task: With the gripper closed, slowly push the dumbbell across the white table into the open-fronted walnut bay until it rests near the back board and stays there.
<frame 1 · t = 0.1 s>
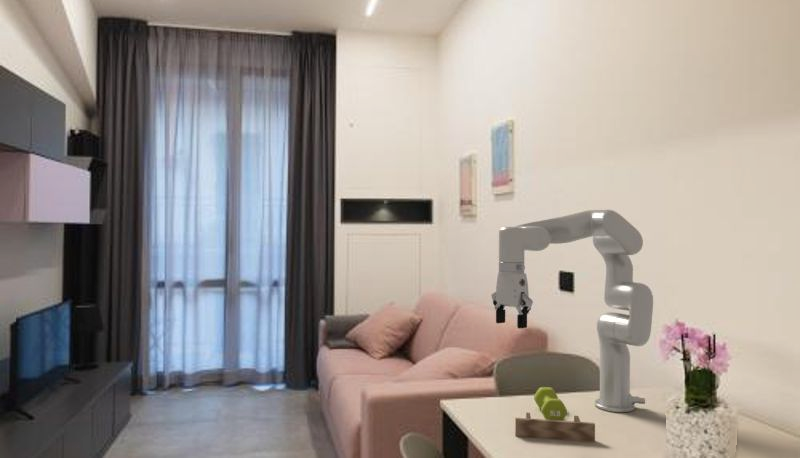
hand: (511, 325, 171), 31 cm above the table, tool pointing down, fingers open, 9 cm apart
walnut bay: (553, 431, 170), on the table
dumbbell: (549, 416, 185), on the table
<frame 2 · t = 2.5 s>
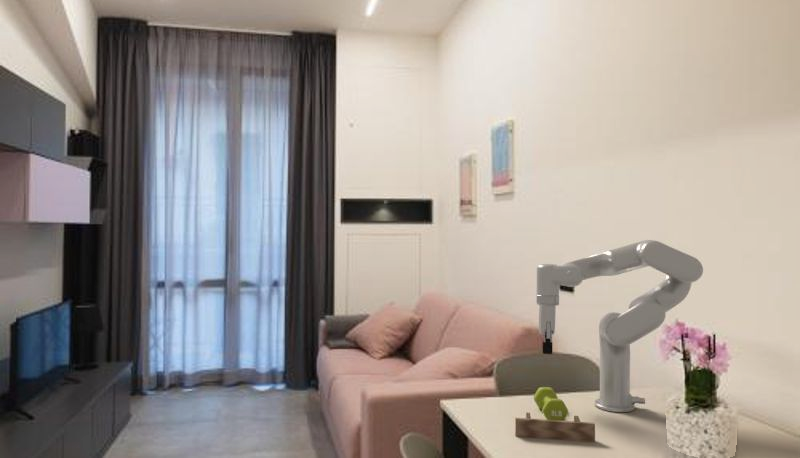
hand: (547, 353, 198), 17 cm above the table, tool pointing down, fingers closed
nothing on the table moved.
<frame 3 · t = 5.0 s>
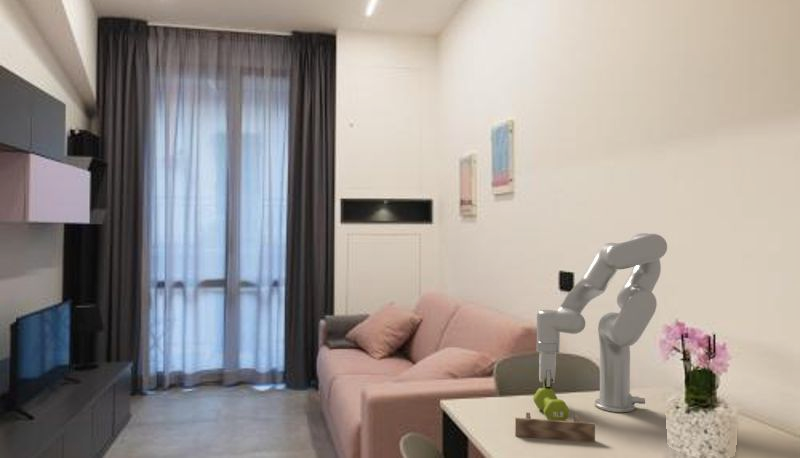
hand: (547, 400, 194), 2 cm above the table, tool pointing down, fingers closed
dumbbell: (550, 417, 183), on the table, touching gripper
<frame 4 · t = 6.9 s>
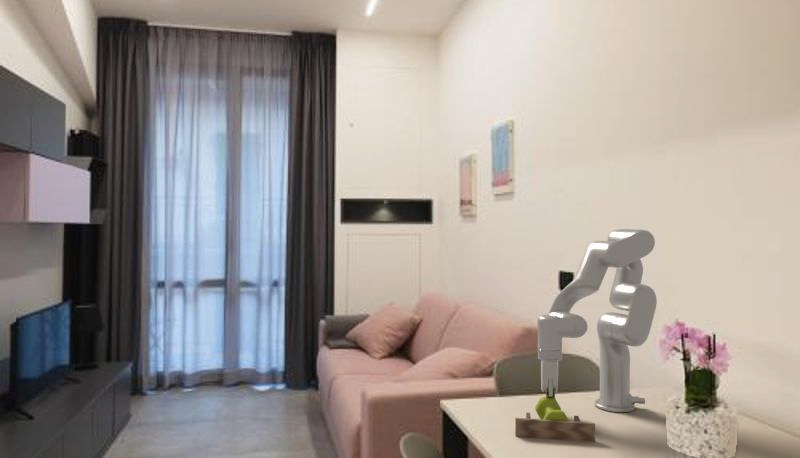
hand: (550, 411, 184), 2 cm above the table, tool pointing down, fingers closed
dumbbell: (551, 428, 173), on the table, touching gripper, walnut bay
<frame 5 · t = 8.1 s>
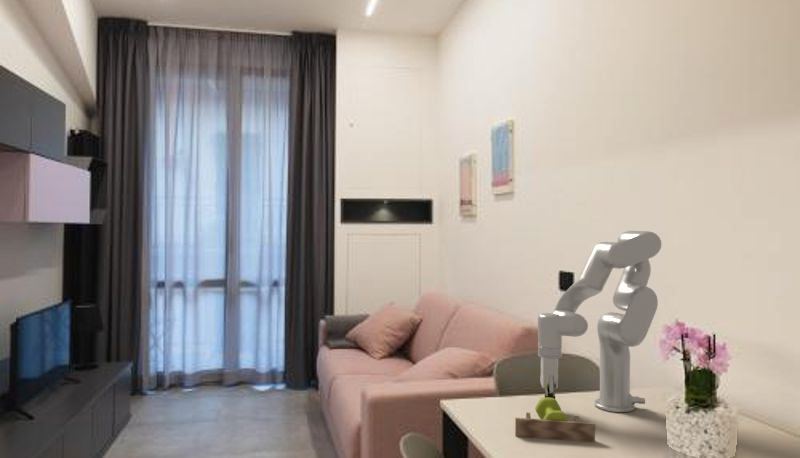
hand: (550, 407, 189), 1 cm above the table, tool pointing down, fingers closed
dumbbell: (551, 428, 173), on the table
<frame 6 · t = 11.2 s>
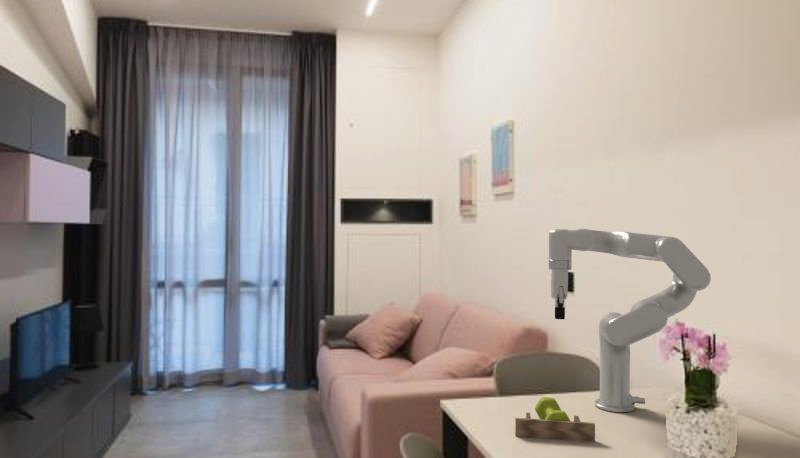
hand: (559, 318, 197), 29 cm above the table, tool pointing down, fingers closed
nothing on the table moved.
at the end: dumbbell inside the target area (0.2 cm from its centre), on the table; dumbbell tilted 0°; dumbbell moved 11.7 cm from its start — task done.
